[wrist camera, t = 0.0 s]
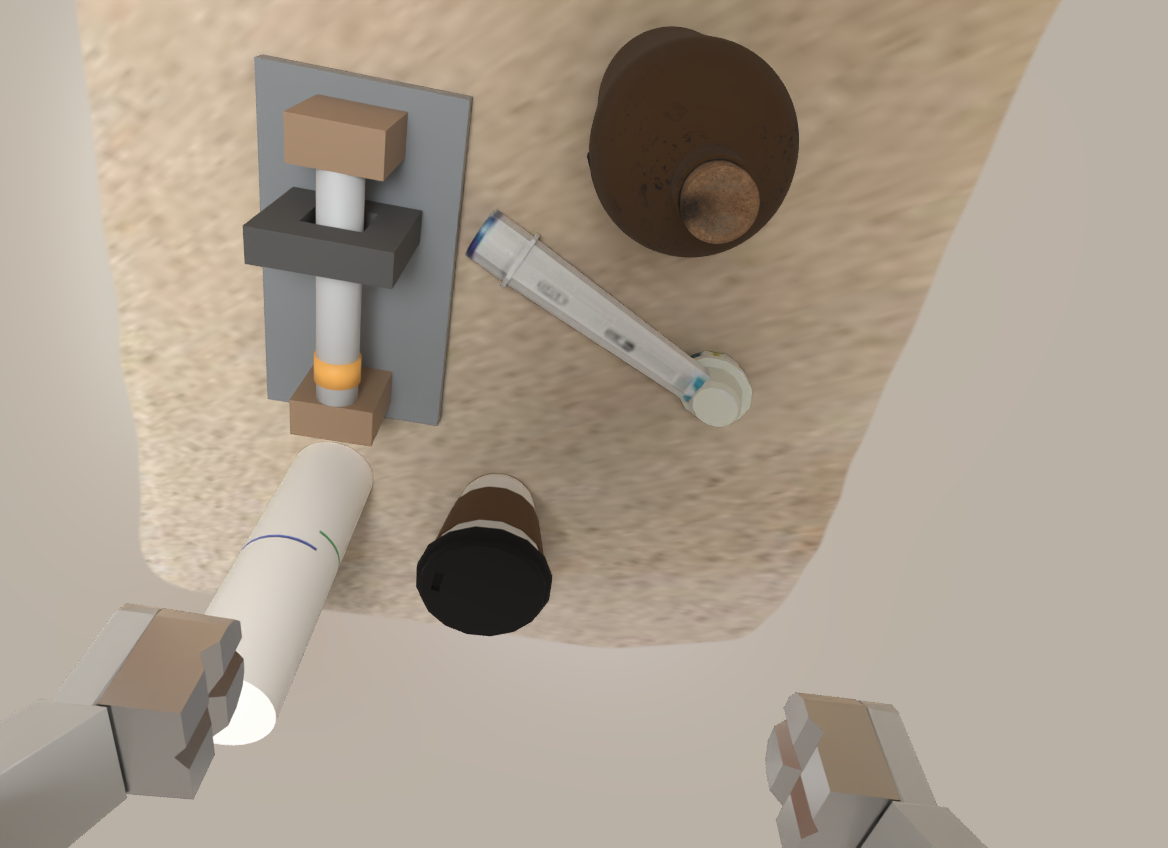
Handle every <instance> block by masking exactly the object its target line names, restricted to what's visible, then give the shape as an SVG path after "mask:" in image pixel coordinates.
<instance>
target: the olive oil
mask: <svg viewBox="0 0 1168 848" xmlns="http://www.w3.org/2000/svg"><path fill="white" fill-rule="evenodd" d="M798 151H799V131H798V122H797V117H796V113H795V109H794V106H793V103H792V100H791V98H790V95H789V93H788V91H787V89H786V87H785V86H784V84H783V82H782V81H781V79H780V78H779V76H778V75H777V74H776V73H775V71H774V70H773V69H772V68H771V67H770V66H769V65H768V64H767V63H766V62H765V61H764V60H763V59H762V58H760V57H759V56H758V55H757V54H755V53H754V52H752V51H750V50H749V49H747V48H745V47H743V46H741V45H739V44H737V43H734V42H732V41H729V40H725V39H722V38H717V37H712V36H707V35H703V34H701V33H699V32H696V31H694V30H691V29H687V28H682V27H661V28H656V29H652V30H649V31H646V32H644V33H642V34H640V35H638V36H636V37H635V38H633V39H632V40H630V41H629V42H628V43H627V44H625V45H624V46H623V47H622V48H621V49H620V50H619V51H618V53H617V54H616V55H615V56H614V58H613V59H612V61H611V62H610V64H609V66H608V68H607V70H606V72H605V74H604V77H603V79H602V82H601V86H600V91H599V97H598V105H597V110H596V113H595V116H594V120H593V124H592V128H591V134H590V143H589V153H588V155H587V158H588V163H589V166H590V170H591V176H592V180H593V184H594V187H595V190H596V192H597V195H598V197H599V200H600V202H601V204H602V205H603V207H604V209H605V210H606V212H607V213H608V215H609V216H610V218H611V219H612V220H613V221H614V223H615V224H616V225H617V226H618V227H619V228H620V229H621V230H622V231H623V232H624V233H625V234H627V235H628V236H629V237H630V238H632V239H633V240H635V241H636V242H638V243H640V244H641V245H643V246H645V247H647V248H649V249H652V250H654V251H657V252H660V253H663V254H667V255H671V256H677V257H703V256H709V255H714V254H717V253H721V252H724V251H726V250H729V249H731V248H733V247H735V246H737V245H739V244H741V243H743V242H744V241H746V240H747V239H749V238H750V237H752V236H753V235H754V234H756V233H757V232H758V231H759V230H760V229H761V228H762V227H763V226H764V225H765V224H766V223H767V222H768V221H769V220H770V219H771V218H772V217H773V215H774V214H775V213H776V211H777V210H778V208H779V207H780V205H781V204H782V202H783V200H784V198H785V196H786V194H787V192H788V190H789V188H790V185H791V183H792V180H793V176H794V173H795V169H796V164H797V159H798Z"/></svg>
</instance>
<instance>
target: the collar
mask: <svg viewBox="0 0 1168 848" xmlns="http://www.w3.org/2000/svg"><path fill="white" fill-rule="evenodd" d="M421 219H422V210H417V209H411V208H406V207H401V206H395V205H390V204H384V203H379V202H374V201H368V200H365V206H364V232H357V231H352V230H346V229H341V228H335V227H330V226H324V225H319V224H316V191H314V190H309V189H303V188H298V187H292V188H291V189H289V190H288V191H287V192H285V193H284V194H283V195H282V196H280V197H279V198H278V199H276V200H275V201H274V202H273V203H271V204H270V205H269V206H267V207H266V208H265V209H264V210H262V211H261V212H260V213H258V214H257V215H256V216H255V217H253V218H252V219H251V220H250V221H248V222H247V223H246V224H244V225H243V239H244V258H245V264H249V265H255V266H261V267H267V268H272V269H278V270H284V271H289V272H295V273H301V274H307V275H312V276H318V277H324V278H330V279H335V280H341V281H347V282H352V283H358V284H364V285H370V286H375V287H381V288H387V289H393V287H394V286H395V284H396V282H397V281H398V279H399V277H400V275H401V274H402V272H403V270H404V269H405V267H406V265H407V264H408V262H409V260H410V259H411V257H412V255H413V253H414V252H415V250H416V248H417V247H418V245H419V243H420V232H421Z"/></svg>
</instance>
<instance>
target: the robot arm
mask: <svg viewBox="0 0 1168 848" xmlns="http://www.w3.org/2000/svg"><path fill="white" fill-rule="evenodd" d="M241 639H242V632H241V624H240V621H238V620H235V619H229V618H223V617H216V616H210V615H203V614H197V613H191V612H184V611H178V610H172V609H166V608H157V607H150V606H144V605H137V604H130V603H126V604H125V605H124V606H122V607H121V608H120V609H118V610H117V611H115V613H114V614H113V615H112V617H111V618H110V619H109V621H108V622H107V624H106V625H105V626H104V628H103V629H102V631H101V632H100V633H99V635H98V636H97V637H96V639H95V640H94V641H93V643H92V644H91V645H90V647H89V648H88V650H87V651H86V652H85V654H84V655H83V656H82V658H81V659H80V660H79V662H78V663H77V665H76V666H75V667H74V669H73V670H72V671H71V673H70V674H69V676H68V677H67V679H66V680H65V681H64V682H63V684H62V685H61V687H60V688H59V690H58V691H57V692H56V693H55V695H54V696H53V698H52V699H51V700H45V699H38V700H36V701H34V702H33V703H31V704H29V705H27V706H26V707H24V708H22V709H20V710H19V711H17V712H15V713H13V714H11V715H10V716H8V717H6V718H4V719H3V720H1V721H0V848H68V847H69V846H70V845H71V844H72V843H74V842H75V841H76V840H77V839H78V838H80V837H81V836H82V835H83V834H85V833H86V832H87V831H88V830H89V829H91V828H92V827H93V826H94V825H95V824H96V823H97V822H99V821H100V820H101V819H102V818H104V817H105V816H106V815H107V814H108V813H110V812H111V811H112V810H113V809H114V808H116V807H117V806H118V805H119V804H120V803H122V802H123V801H124V800H125V799H126V798H127V796H126V794H133V795H145V796H157V797H170V798H183V799H194V797H195V795H196V793H197V791H198V789H199V786H200V784H201V782H202V780H203V778H204V776H205V774H206V772H207V770H208V768H209V765H210V763H211V761H212V759H213V757H214V755H215V753H214V742H213V736H214V735H216V734H217V733H219V732H220V731H222V730H223V729H224V728H226V727H227V726H228V725H229V723H230V721H231V719H232V716H233V714H234V712H235V710H236V707H237V704H238V701H239V697H240V694H241V690H242V687H243V679H244V659H243V658H242V656H241V655H240V654H239V653H238V652H237V651H236V649H237V647H238V645H239V643H240V641H241ZM784 710H785V715H786V720H785V721H783V722H781V723H780V724H778V725H776V726H774V728H773V730H772V733H771V735H770V737H769V740H768V744H767V751H766V774H767V779H768V784H769V789H770V791H771V792H772V793H773V795H774V796H775V797H776V798H777V800H778V801H779V802H780V803H781V804H782V806H783V807H782V809H781V811H780V813H779V815H778V817H777V819H776V822H777V826H778V831H779V835H780V840H781V844H782V848H987V847H986V846H985V845H984V844H983V843H982V842H981V841H980V840H979V839H978V838H977V837H976V836H975V835H974V834H973V833H972V832H971V831H970V830H969V829H968V828H967V827H966V826H965V825H964V824H963V823H962V822H961V821H960V820H959V819H958V818H957V817H956V816H955V815H954V814H953V813H952V812H951V811H950V810H949V809H948V808H945V807H939V806H937V803H936V801H935V798H934V796H933V794H932V791H931V789H930V787H929V784H928V782H927V779H926V777H925V775H924V772H923V770H922V767H921V765H920V763H919V760H918V758H917V756H916V753H915V751H914V748H913V746H912V743H911V741H910V739H909V736H908V734H907V732H906V729H905V727H904V724H903V722H902V720H901V717H900V715H899V713H898V711H897V710H896V709H895V708H894V706H893V705H890V704H882V703H874V702H866V701H857V700H855V699H848V698H839V697H831V696H822V695H814V694H805V693H797V692H796V693H794V694H793V695H791V696H790V697H789V698H788V700H787V702H786V704H785V706H784Z"/></svg>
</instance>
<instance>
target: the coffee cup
mask: <svg viewBox="0 0 1168 848" xmlns="http://www.w3.org/2000/svg"><path fill="white" fill-rule="evenodd" d="M551 583H552V574H551V571H550V569H549V566H548V564H547V561H546V559H545V556H544V554H543V548H542V541H541V534H540V528H539V521H538V518H537V515H536V512H535V508H534V502H533V500H532V497H531V494H530V492H529V491H528V490H527V488H526V487H525V486H524V485H523V484H522V483H521V482H520V481H519V480H517V479H515V478H513V477H511V476H508V475H505V474H495V473H493V474H488V475H484V476H481V477H479V478H478V479H476V480H475V481H473V482H472V483H470V484H469V485H467V487H466V488H465V490H464V491H463V493H462V495H461V496H460V498H458V500H457V502H456V503H455V505H454V506H453V508H452V510H451V511H450V513H449V515H448V517H447V519H446V521H445V523H444V525H443V527H442V529H441V531H440V533H439V535H438V537H437V538H436V540H435V541H434V542H432V543H430V544H429V545H428V547H427V548H426V550H425V552H424V553H423V555H422V557H421V558H420V560H419V561H418V564H417V579H416V587H417V589H418V591H419V593H420V596H421V598H422V600H423V602H424V604H425V606H426V608H427V610H428V611H429V612H430V613H431V614H432V615H433V616H435V617H436V618H437V619H438V620H439V621H441V622H442V623H443V624H444V625H446V626H448V627H451V628H453V629H456V630H458V631H461V632H463V633H466V634H473V635H483V636H494V635H500V634H505V633H510V632H514V631H516V630H518V629H520V628H521V627H523V626H525V625H527V624H529V623H530V622H532V621H533V620H534V618H535V617H536V616H537V615H538V614H539V613H540V611H541V610H542V609H543V607H544V606H545V605H546V603H547V602H548V601H549V597H550V590H551Z"/></svg>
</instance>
